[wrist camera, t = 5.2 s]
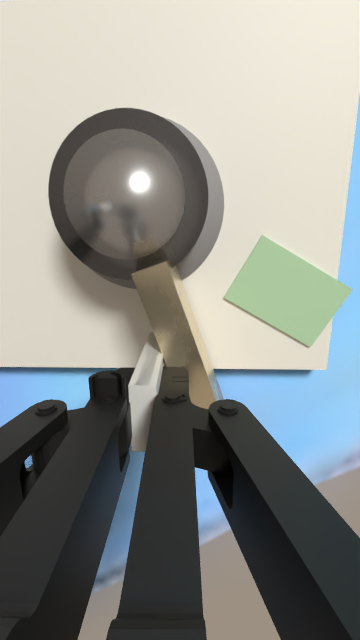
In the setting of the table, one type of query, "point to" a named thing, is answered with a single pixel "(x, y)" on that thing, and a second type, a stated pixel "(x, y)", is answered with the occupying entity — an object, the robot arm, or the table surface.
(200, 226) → the peg dial
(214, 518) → the table surface
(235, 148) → the board
